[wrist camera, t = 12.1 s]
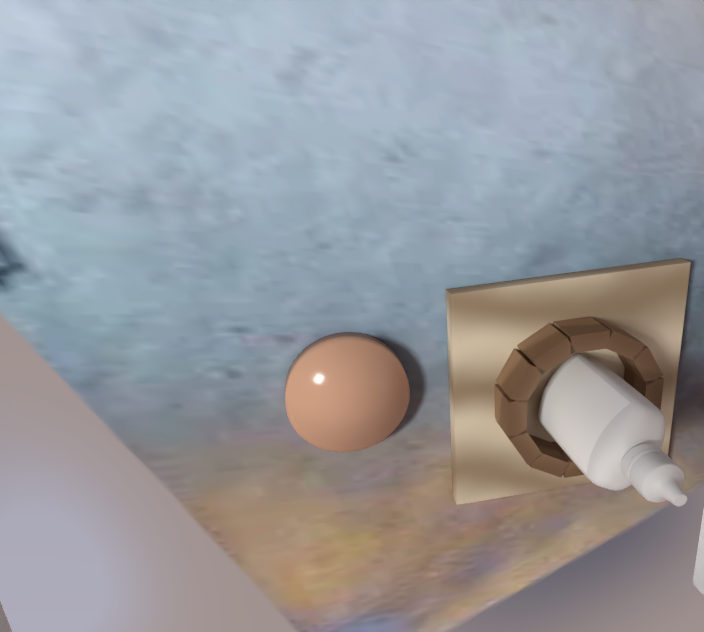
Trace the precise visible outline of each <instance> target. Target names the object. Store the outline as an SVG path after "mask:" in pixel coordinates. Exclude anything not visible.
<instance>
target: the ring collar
mask: <svg viewBox="0 0 704 632" xmlns="http://www.w3.org/2000/svg"><path fill="white" fill-rule="evenodd" d="M690 265H691V262H689V261H687V260H684V259H682V258H678V259H671V260H663V261H656V262H648V263H641V264H633V265H626V266H618V267H610V268H603V269H595V270H588V271H580V272H573V273H565V274H558V275H550V276H542V277H535V278H527V279H520V280H512V281H505V282H497V283H490V284H482V285H474V286H467V287H459V288H452V289H446V302H447V331H448V360H449V389H450V419H451V448H452V477H453V497H454V499H455V501H456V503H457V505H459V504H465V503H471V502H477V501H483V500H489V499H494V498H500V497H506V496H512V495H518V494H524V493H530V492H536V491H542V490H548V489H553V488H559V487H565V486H571V485H577V484H583V483H589V482H591V481H590V480H589V479H588V478H587V477H586V476H585V475H584V473H583V472H582V471H581V470H580V469H579V468H578V467H577V466H576V464H575V463H574V462H573V461H572V460H571V459H570V457H569V456H568V455H567V454H566V453H565V452H564V450H563V449H562V448H561V447H560V446H559V444H558V443H557V442H556V441H555V440H554V439H553V437H552V436H551V435H550V434H549V433H548V431H547V430H546V429H545V428H544V427H543V425H542V424H541V423H540V421H539V418H538V410H539V404H540V400H541V397H542V394H543V391H544V389H545V387H546V385H547V383H548V381H549V380H550V378H551V377H552V375H553V374H554V372H555V371H556V370H557V369H558V368H559V367H560V366H561V365H562V364H563V363H564V362H565V361H566V360H567V359H568V358H569V357H571V356H572V355H574V354H584V355H587V356H589V357H592V358H595V359H597V360H599V361H601V362H602V363H603V364H604V365H606V366H607V367H608V368H609V369H611V370H612V371H613V372H614V373H616V374H617V375H618V376H619V377H621V378H622V379H623V380H624V381H626V382H627V383H628V384H629V385H631V386H632V387H633V388H634V389H636V390H637V391H638V392H639V393H640V394H642V395H643V396H644V397H645V398H647V399H648V400H649V401H650V402H651V403H653V404H654V405H655V406H656V407H657V408H658V409H659V410H660V411H661V412H662V413H663V414H664V418H665V435H664V441H663V445H662V449H661V450H662V451H663V452H664V453H665V454H666V455H667V456H668V450H669V442H670V433H671V425H672V417H673V408H674V400H675V391H676V383H677V374H678V366H679V357H680V349H681V341H682V332H683V324H684V315H685V307H686V298H687V290H688V281H689V273H690Z"/></svg>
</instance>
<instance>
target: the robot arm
mask: <svg viewBox="0 0 704 632" xmlns="http://www.w3.org/2000/svg"><path fill="white" fill-rule="evenodd" d="M693 584H694V585H695V586H696V587H697V588H698V590H699V591H700V592H701V593H702V594H703V595H704V511H703V517H702V524H701V530H700V537H699V544H698V550H697V557H696V564H695V571H694V577H693ZM0 632H12V631H11V628H10V625H9V623H8V620H7V618H6V615H5V613H4V610H3V608H2V605H1V602H0Z"/></svg>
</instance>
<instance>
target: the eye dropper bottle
mask: <svg viewBox="0 0 704 632" xmlns="http://www.w3.org/2000/svg"><path fill="white" fill-rule="evenodd" d="M538 418H539V421H540V423H541V424H542V425H543V427H544V428H545V429H546V430H547V431H548V433H549V434H550V435H551V436H552V437H553V439H554V440H555V441H556V442H557V443H558V444H559V446H560V447H561V448H562V449H563V450H564V452H565V453H566V454H567V455H568V456H569V457H570V459H571V460H572V461H573V462H574V463H575V464H576V466H577V467H578V468H579V469H580V470H581V471H582V472H583V473H584V475H585V476H586V477H587V478H588V479H589V480H590V481H591V482H593V483H594V484H596V485H598V486H600V487H603V488H606V489H610V490H622V489H624V488H627V487H628V486H630V485H633V486H634V487H635V489H636V490H637V491H638V492H639V493H640V494H641V495H642V496H643V497H644V498H645V499H647V500H649V501H651V502H663V501H666V500H668V501H670V502H671V503H673V504H674V505H676V506H682V505H684V504H685V503H686V501H687V496H686V495H685V494H684V492H683V491H682V489H681V487H682V485H683V483H684V472H683V470H682V469H681V467H680V466H679V465H678V464H676V463H675V462H674V461H673V460H672V459H671V458H670V457H669V456H667V455H666V454H665V453H664V452H663V451H662V450H661V449H662V445H663V441H664V435H665V418H664V414H663V413H662V412H661V411H660V410H659V409H658V408H657V407H656V406H655V405H654V404H653V403H651V402H650V401H649V400H648V399H647V398H645V397H644V396H643V395H642V394H640V393H639V392H638V391H637V390H636V389H634V388H633V387H632V386H631V385H629V384H628V383H627V382H626V381H624V380H623V379H622V378H621V377H619V376H618V375H617V374H616V373H614V372H613V371H612V370H611V369H609V368H608V367H607V366H606V365H604V364H603V363H602V362H601V361H599V360H597V359H595V358H592V357H589V356H587V355H584V354H574V355H572V356H571V357H569V358H568V359H567V360H566V361H565V362H564V363H563V364H562V365H561V366H560V367H559V368H558V369H557V370H556V371H555V372H554V374H553V375H552V377H551V378H550V380H549V381H548V383H547V385H546V387H545V389H544V391H543V394H542V397H541V400H540V404H539V410H538Z"/></svg>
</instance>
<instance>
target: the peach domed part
mask: <svg viewBox="0 0 704 632" xmlns="http://www.w3.org/2000/svg"><path fill="white" fill-rule="evenodd" d="M409 399H410V388H409V382H408V378H407V375H406V373H405V371H404V369H403V367H402V364H401V362H400V360H399V359H398V357H397V355H396V354H395V353H394V352H393V351H392V349H391V348H389V347H388V346H387V345H386V344H385V343H383V342H382V341H380V340H378V339H376V338H374V337H372V336H369V335H366V334H362V333H354V332H343V333H336V334H332V335H328V336H325V337H323V338H321V339H318V340H317V341H315V342H313V343H312V344H310V345H309V346H308V347H306V348H305V349H304V350H303V351H302V352H301V353H300V354H299V355H298V356H297V358H296V359H295V360H294V362H293V364H292V365H291V367H290V369H289V372H288V374H287V378H286V383H285V401H286V409H287V414H288V417H289V420H290V422H291V424H292V426H293V427H294V429H295V430H296V431H297V433H298V434H299V435H300V436H301V437H302V438H304V439H305V440H306V441H307V442H309V443H311V444H313V445H314V446H317V447H319V448H321V449H325V450H328V451H335V452H352V451H357V450H362V449H365V448H368V447H370V446H373V445H375V444H377V443H378V442H380V441H382V440H383V439H385V438H386V437H387V436H389V435H390V434H391V433H392V432H393V431H394V430H395V429H396V428H397V426H398V425H399V424H400V422H401V421H402V419H403V417H404V415H405V413H406V411H407V408H408V404H409Z"/></svg>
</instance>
